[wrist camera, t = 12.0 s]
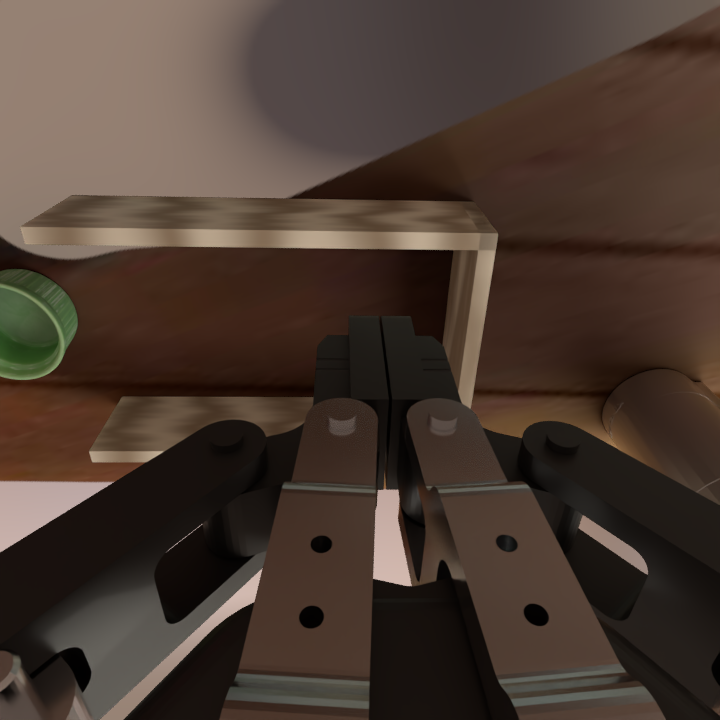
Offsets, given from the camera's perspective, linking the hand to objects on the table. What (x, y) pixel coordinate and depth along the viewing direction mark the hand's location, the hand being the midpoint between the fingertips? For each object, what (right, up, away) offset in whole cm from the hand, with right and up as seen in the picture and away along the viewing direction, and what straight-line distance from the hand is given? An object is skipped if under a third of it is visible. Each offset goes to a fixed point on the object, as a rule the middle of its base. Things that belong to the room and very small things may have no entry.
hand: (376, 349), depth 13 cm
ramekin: (-29, +4, +34) cm, 45 cm away
